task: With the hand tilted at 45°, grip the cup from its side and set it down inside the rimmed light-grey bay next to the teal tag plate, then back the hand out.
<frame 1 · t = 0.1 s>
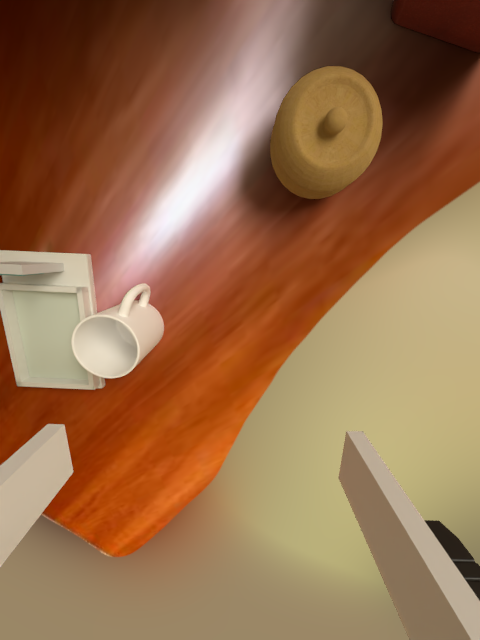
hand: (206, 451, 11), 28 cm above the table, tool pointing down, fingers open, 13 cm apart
cup: (144, 314, 39), on the table
dock: (59, 334, 40), on the table
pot: (310, 158, 33), on the table
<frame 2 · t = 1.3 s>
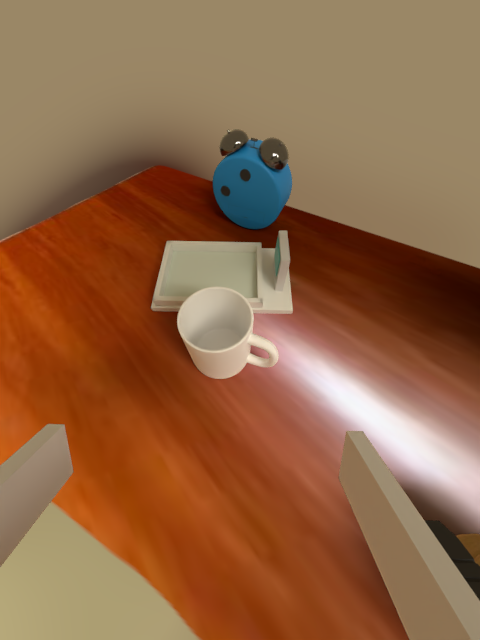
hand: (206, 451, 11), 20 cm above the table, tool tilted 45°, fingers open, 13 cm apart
cup: (233, 357, 35), on the table
dock: (212, 279, 41), on the table
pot: (467, 603, 23), on the table
alarm clock: (250, 221, 49), on the table
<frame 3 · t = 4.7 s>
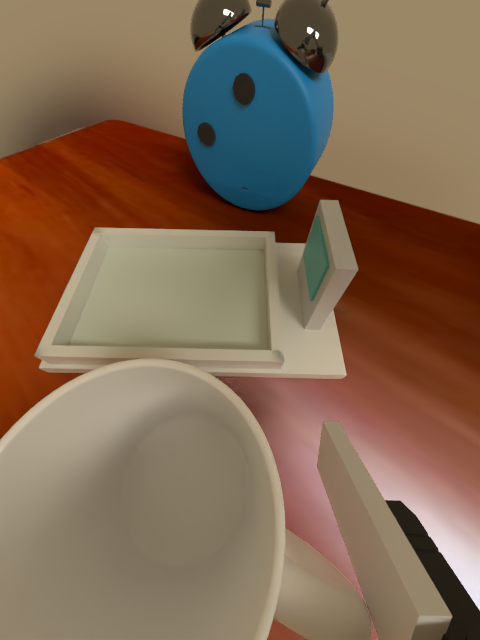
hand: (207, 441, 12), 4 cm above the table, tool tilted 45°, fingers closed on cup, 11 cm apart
cup: (215, 496, 15), on the table, touching gripper
dock: (180, 302, 21), on the table
alarm clock: (252, 199, 29), on the table
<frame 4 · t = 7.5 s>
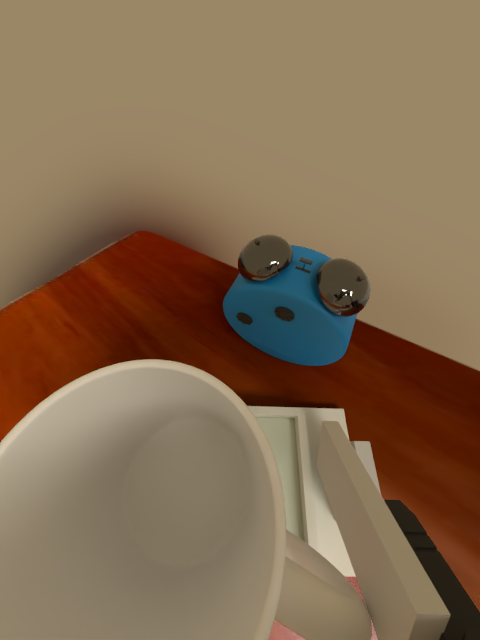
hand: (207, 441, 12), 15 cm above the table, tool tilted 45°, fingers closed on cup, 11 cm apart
cup: (215, 496, 15), point 11 cm above the table, touching gripper
dock: (221, 476, 24), on the table
alarm clock: (277, 339, 32), on the table
when the fingers open (7 cm above the table, at t = 10.1 s): cup drops 1 cm, resting on dock.
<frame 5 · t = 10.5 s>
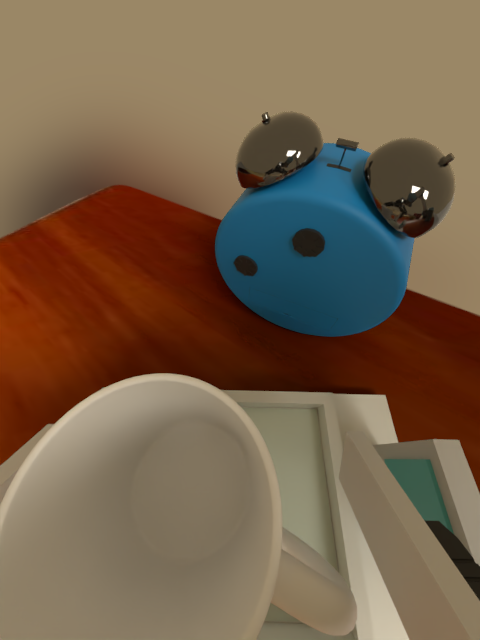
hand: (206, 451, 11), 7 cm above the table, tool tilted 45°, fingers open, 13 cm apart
cup: (218, 497, 16), point 1 cm above the table, touching dock
dock: (214, 492, 16), on the table
alarm clock: (289, 307, 24), on the table
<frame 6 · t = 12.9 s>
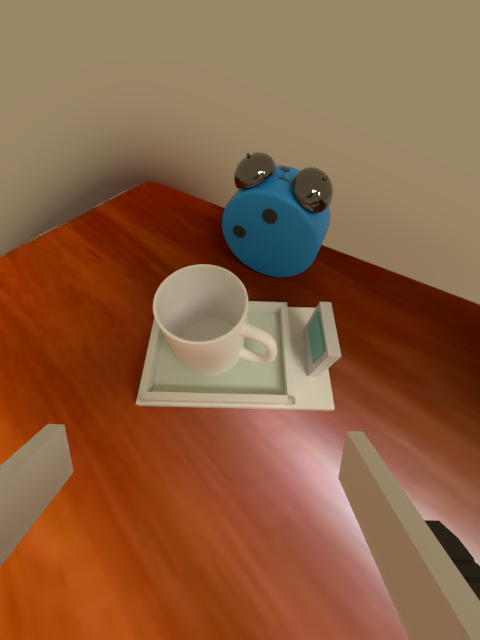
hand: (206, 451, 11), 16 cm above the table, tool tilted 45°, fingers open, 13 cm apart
cup: (223, 351, 30), point 1 cm above the table, touching dock
dock: (221, 353, 31), on the table
alarm clock: (267, 263, 38), on the table
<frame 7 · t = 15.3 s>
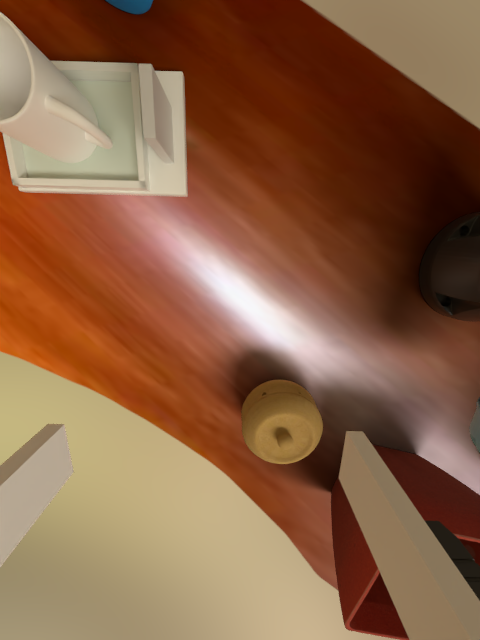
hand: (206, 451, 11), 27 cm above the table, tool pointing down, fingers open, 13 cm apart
plant pot: (371, 472, 45), on the table
cup: (83, 135, 30), point 1 cm above the table, touching dock
dock: (85, 137, 31), on the table
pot: (275, 400, 41), on the table
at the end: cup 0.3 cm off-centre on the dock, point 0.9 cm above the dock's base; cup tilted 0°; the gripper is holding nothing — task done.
